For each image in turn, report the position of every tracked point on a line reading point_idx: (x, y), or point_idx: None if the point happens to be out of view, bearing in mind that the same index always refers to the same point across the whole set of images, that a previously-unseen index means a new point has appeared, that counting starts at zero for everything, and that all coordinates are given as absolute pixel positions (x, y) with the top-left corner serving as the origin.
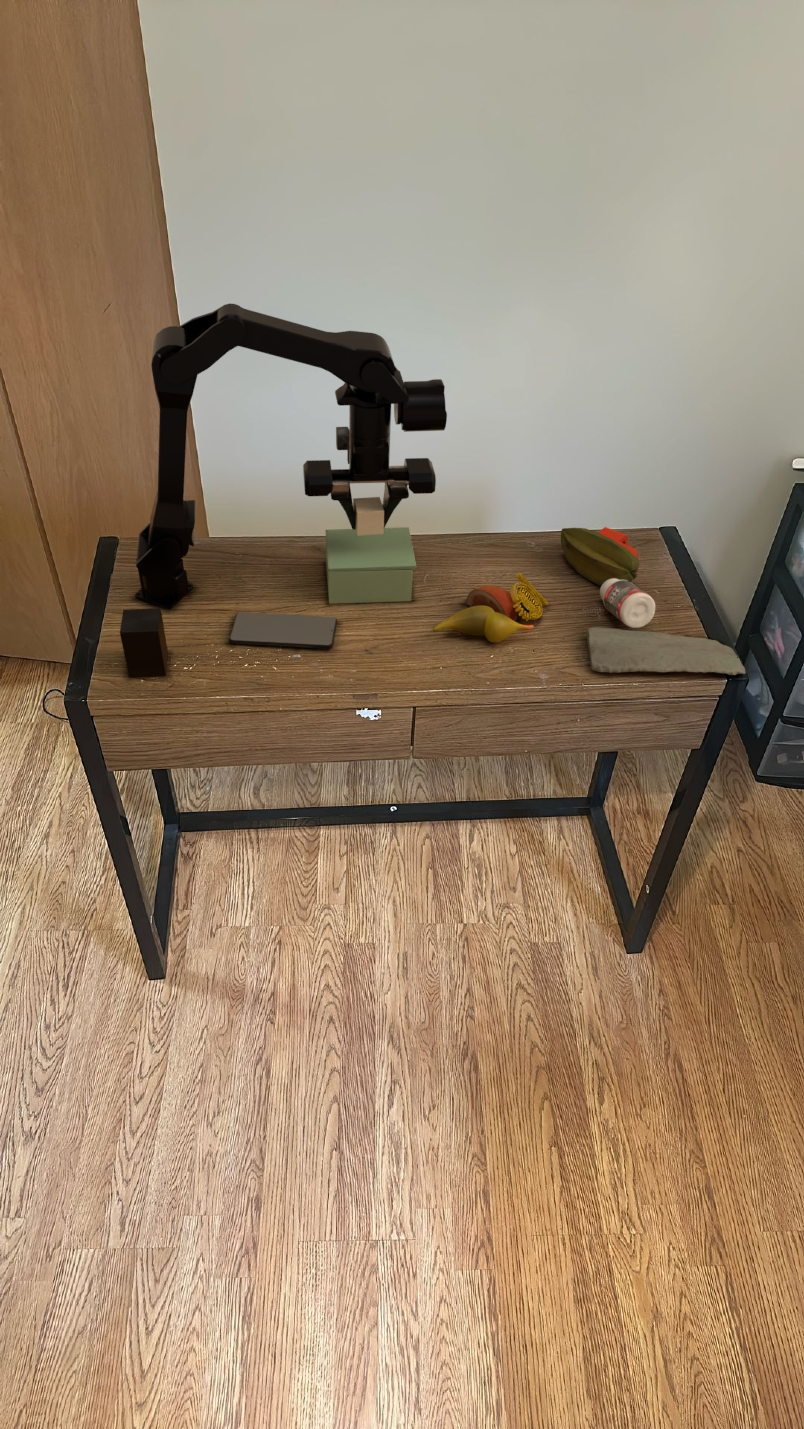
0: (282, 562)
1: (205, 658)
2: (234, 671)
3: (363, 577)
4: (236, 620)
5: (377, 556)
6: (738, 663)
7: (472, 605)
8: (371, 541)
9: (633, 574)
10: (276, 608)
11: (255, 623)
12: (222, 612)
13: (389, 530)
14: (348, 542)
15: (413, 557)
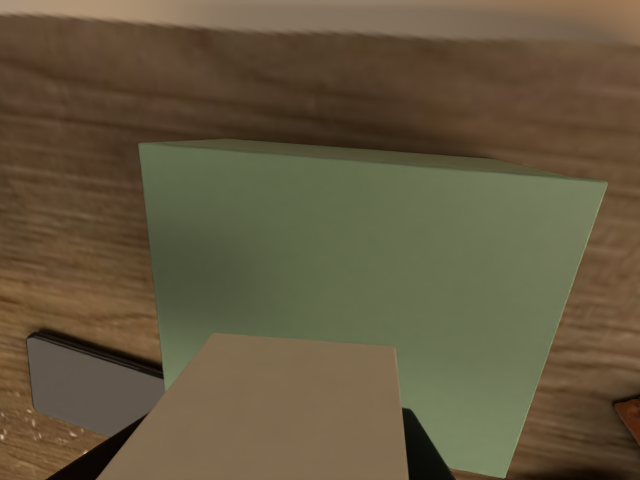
0: (96, 111)
1: (16, 422)
2: (70, 461)
3: None
4: (30, 363)
5: None
6: None
7: (628, 429)
8: (350, 284)
9: None
10: (112, 315)
11: (69, 381)
12: (5, 306)
13: (471, 201)
14: (243, 269)
15: (515, 432)
